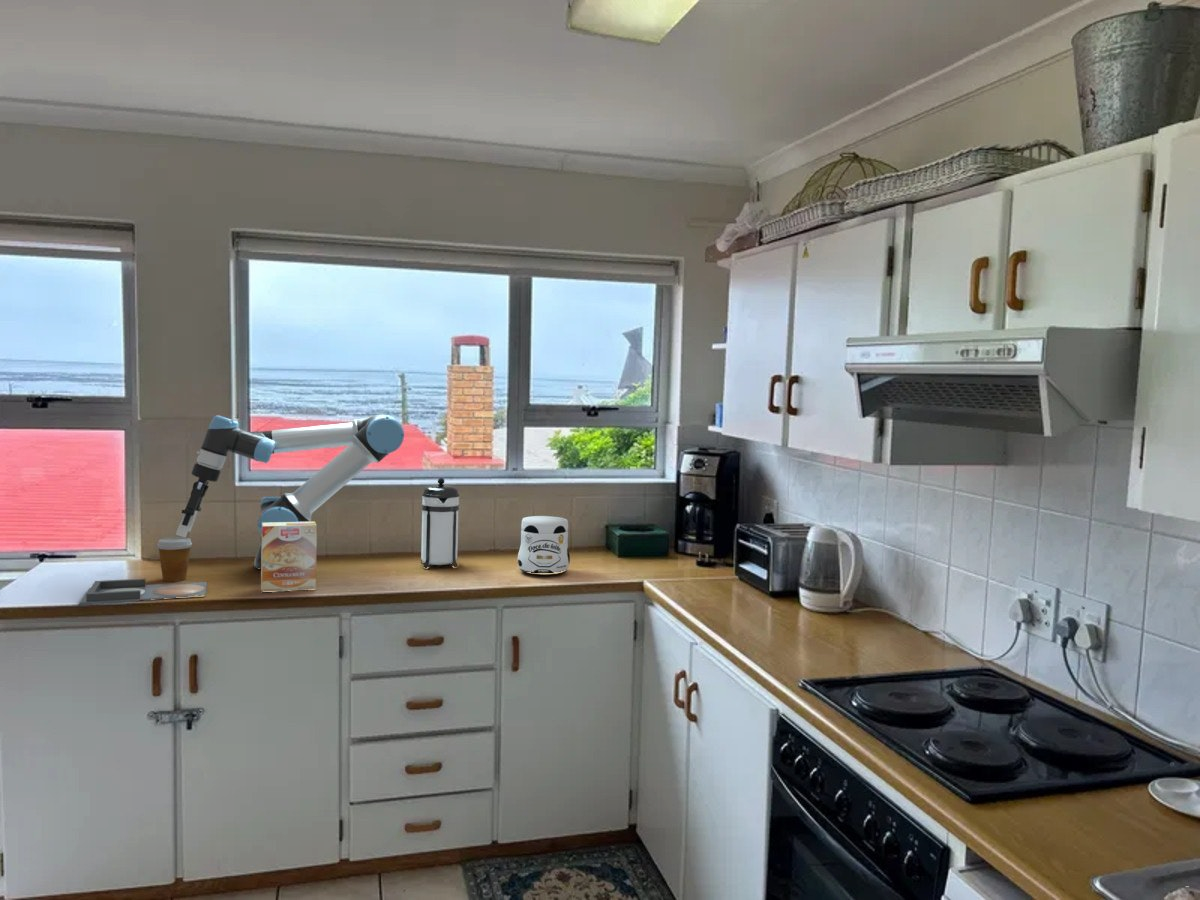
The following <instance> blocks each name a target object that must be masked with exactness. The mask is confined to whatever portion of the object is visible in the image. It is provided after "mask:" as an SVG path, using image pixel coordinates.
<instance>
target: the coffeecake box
mask: <svg viewBox="0 0 1200 900" xmlns="http://www.w3.org/2000/svg"><path fill="white" fill-rule="evenodd" d="M317 536H318V525H317V523H316V521H312V520H311V521H310V522H267V523H262V547H261V570H260V591H261V590H262V591H288V590H305V589H306V590H308V589H316V590H317V588H316V587H317V545H318V541H317V539H318V537H317ZM262 591H261V592H262ZM308 591H309V590H308Z"/></svg>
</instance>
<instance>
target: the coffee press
mask: <svg viewBox="0 0 1200 900" xmlns="http://www.w3.org/2000/svg"><path fill="white" fill-rule="evenodd" d="M437 483H438V484H433V485H428V486H425V488H424V489H423V490H422V492H421V497H422V501H421V502H422V503H421V548H420V549H421V553H420V556H421V557H420V558H421V560H420V562H421V561H423V562H424V564H423V567H425V568H427V567H430V568H431V567H432V566H433V565H437V566H442V565H448V566H450V567H451V566H455V567H457V566H458V567H459V565H458V562H457V560H458V547H459V545H458V544H459V543H458V541H459V540H458V539H459V511H460V502H459V501H460V496H461V493H460V492H459V489H458V488H456V486H453V485H449V484H447V485H446V484H445V479H444V478H443V477H439V478H438V479H437Z"/></svg>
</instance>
